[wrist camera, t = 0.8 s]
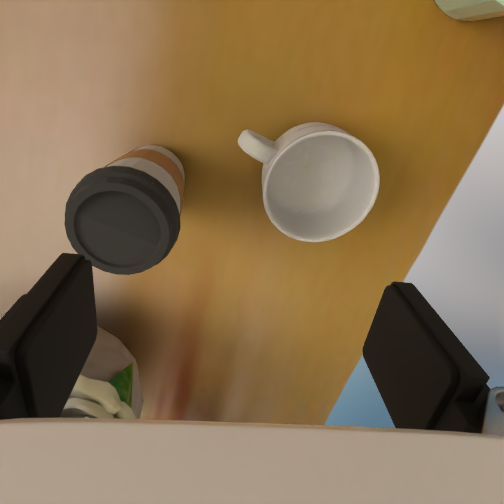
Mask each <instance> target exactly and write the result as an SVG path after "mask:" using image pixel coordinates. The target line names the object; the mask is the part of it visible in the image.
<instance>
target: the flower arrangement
mask: <svg viewBox="0 0 504 504" xmlns="http://www.w3.org/2000/svg"><path fill="white" fill-rule="evenodd" d="M142 405H143V394H142V388H141V381H140V376H139V372H138V367H137V362H136V359H135V358H134V357H133V356H132V354H131V353H130V352H129V351H128V349H127V348H126V347H125V346H124V344H123V343H122V342H121V341H120V340H119V339H118V338H116V337H115V336H113V335H112V334H110V333H108V332H107V331H105V330H103V329H102V328H100V327H98V326H97V337H96V341H95V343H94V345H93V347H92V350H91V352H90V354H89V356H88V358H87V360H86V362H85V364H84V367H83V369H82V371H81V373H80V375H79V377H78V379H77V381H76V384H75V386H74V388H73V390H72V392H71V394H70V396H69V398H68V401H67V403H66V405H65V407H64V409H63V411H62V413H61V415H60V418H117V419H140V414H141V410H142Z"/></svg>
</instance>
